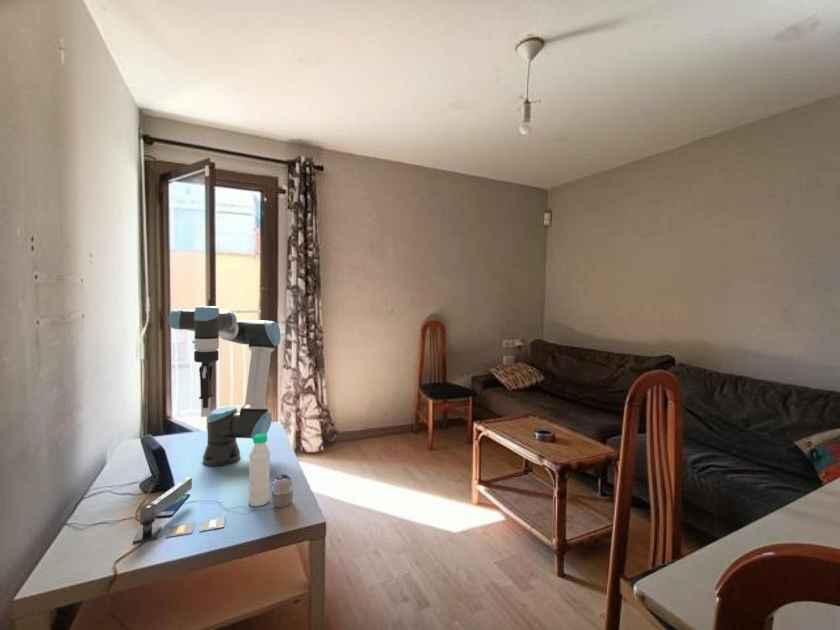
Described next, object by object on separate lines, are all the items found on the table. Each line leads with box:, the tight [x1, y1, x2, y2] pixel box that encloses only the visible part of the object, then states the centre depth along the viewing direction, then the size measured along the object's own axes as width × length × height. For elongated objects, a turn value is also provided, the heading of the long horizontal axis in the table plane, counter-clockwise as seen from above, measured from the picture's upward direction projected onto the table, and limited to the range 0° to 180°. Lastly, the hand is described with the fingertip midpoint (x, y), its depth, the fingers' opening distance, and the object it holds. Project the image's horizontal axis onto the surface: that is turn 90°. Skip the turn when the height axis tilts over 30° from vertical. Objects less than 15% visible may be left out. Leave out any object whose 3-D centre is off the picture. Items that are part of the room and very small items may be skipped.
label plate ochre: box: [165, 521, 196, 539], centre depth 123 cm, size 6×7×1 cm
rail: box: [139, 476, 193, 526], centre depth 128 cm, size 4×22×5 cm, turn 178°
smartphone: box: [155, 493, 191, 519], centre depth 136 cm, size 7×1×15 cm
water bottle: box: [248, 434, 271, 507], centre depth 140 cm, size 7×7×25 cm
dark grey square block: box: [132, 523, 162, 545], centre depth 119 cm, size 6×6×4 cm
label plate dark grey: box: [198, 516, 226, 533], centre depth 126 cm, size 6×7×1 cm
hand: (205, 416), depth 136 cm, fingers closed
